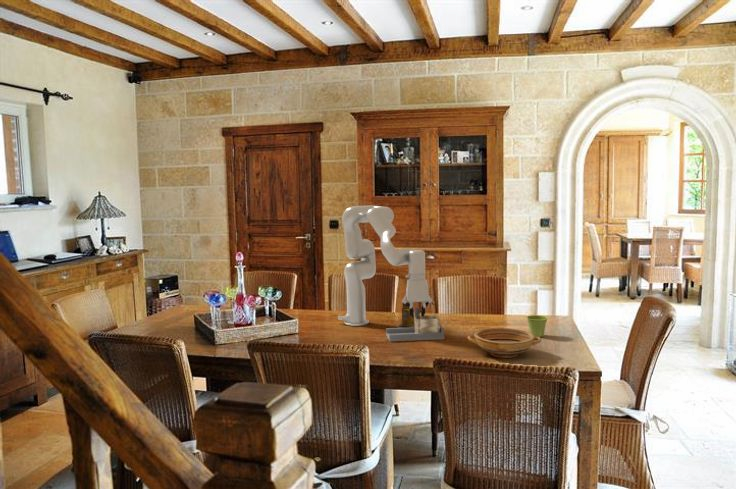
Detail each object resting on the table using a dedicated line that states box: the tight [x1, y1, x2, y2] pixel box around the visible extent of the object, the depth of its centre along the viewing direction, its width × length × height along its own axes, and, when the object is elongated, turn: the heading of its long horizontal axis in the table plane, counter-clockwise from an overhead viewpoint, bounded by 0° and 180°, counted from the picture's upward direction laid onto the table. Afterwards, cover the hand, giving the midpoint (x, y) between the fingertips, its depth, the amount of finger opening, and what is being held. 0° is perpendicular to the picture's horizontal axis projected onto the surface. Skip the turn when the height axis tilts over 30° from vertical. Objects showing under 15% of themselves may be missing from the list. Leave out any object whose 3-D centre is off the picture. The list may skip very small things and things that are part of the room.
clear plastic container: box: [414, 306, 441, 333], centre depth 267 cm, size 10×9×12 cm
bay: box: [385, 323, 445, 342], centre depth 267 cm, size 25×12×5 cm, turn 96°
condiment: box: [395, 301, 415, 328], centre depth 286 cm, size 7×8×12 cm
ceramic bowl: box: [467, 327, 542, 359], centre depth 238 cm, size 30×24×8 cm
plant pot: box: [525, 314, 549, 338], centre depth 265 cm, size 9×9×9 cm
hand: (417, 315), depth 266 cm, fingers open, 4 cm apart
